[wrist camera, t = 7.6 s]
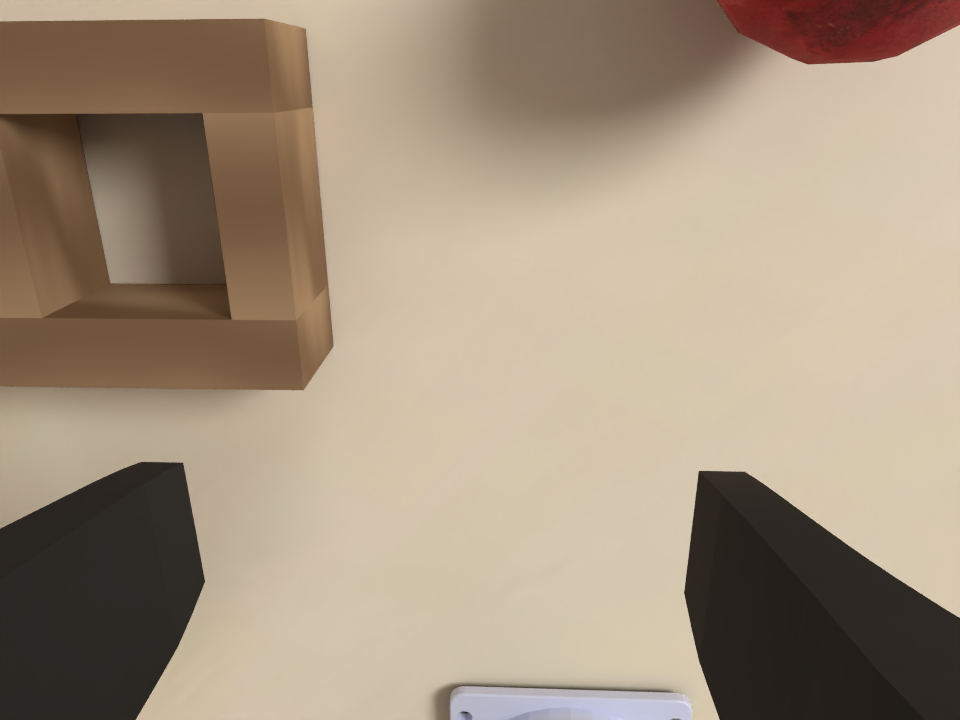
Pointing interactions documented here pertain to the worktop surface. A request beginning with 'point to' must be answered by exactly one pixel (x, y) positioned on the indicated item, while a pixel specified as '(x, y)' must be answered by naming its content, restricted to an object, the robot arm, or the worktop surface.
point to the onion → (842, 26)
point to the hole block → (237, 191)
